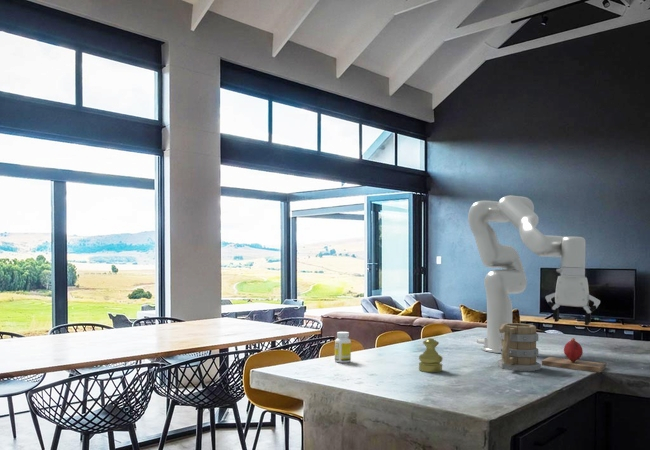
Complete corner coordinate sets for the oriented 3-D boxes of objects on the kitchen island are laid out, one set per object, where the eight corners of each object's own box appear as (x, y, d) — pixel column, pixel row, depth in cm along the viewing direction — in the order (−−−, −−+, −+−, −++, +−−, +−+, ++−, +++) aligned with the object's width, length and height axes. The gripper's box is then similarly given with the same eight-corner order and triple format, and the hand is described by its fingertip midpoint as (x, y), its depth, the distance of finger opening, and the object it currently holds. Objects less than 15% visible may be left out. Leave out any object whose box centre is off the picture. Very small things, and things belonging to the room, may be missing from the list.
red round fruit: (584, 364, 183) (584, 339, 184) (566, 363, 185) (565, 338, 185) (580, 360, 189) (580, 337, 190) (562, 359, 190) (562, 336, 191)
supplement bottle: (352, 361, 188) (353, 332, 189) (346, 363, 183) (347, 333, 184) (338, 359, 191) (338, 330, 191) (331, 362, 186) (332, 332, 186)
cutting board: (541, 365, 188) (541, 360, 188) (549, 361, 196) (549, 356, 196) (600, 372, 177) (600, 367, 177) (605, 367, 185) (605, 363, 185)
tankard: (509, 362, 192) (509, 318, 193) (545, 368, 183) (545, 322, 184) (480, 369, 178) (480, 322, 179) (517, 376, 169) (517, 326, 170)
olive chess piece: (428, 373, 170) (428, 340, 171) (413, 369, 177) (414, 337, 177) (447, 371, 173) (447, 339, 174) (432, 367, 180) (432, 336, 181)
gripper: (543, 271, 191) (542, 321, 190) (598, 274, 180) (597, 327, 180) (549, 270, 197) (548, 319, 196) (602, 274, 186) (601, 325, 186)
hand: (571, 323), depth 188 cm, fingers open, 9 cm apart
